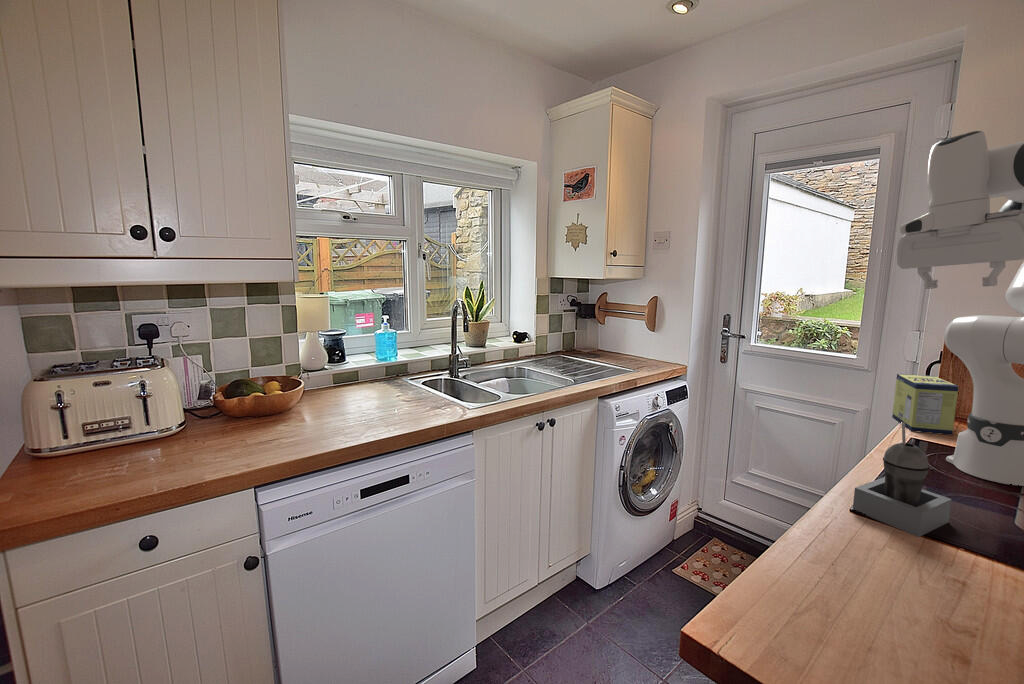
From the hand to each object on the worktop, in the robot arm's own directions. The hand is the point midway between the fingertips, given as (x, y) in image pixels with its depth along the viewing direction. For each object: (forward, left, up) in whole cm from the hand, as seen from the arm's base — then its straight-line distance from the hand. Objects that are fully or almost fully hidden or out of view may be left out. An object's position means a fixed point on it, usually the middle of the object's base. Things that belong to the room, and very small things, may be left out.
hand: (959, 287), depth 93 cm
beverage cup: (+12, 0, -47) cm, 49 cm away
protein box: (-59, -27, -47) cm, 80 cm away
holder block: (+12, 0, -47) cm, 48 cm away
